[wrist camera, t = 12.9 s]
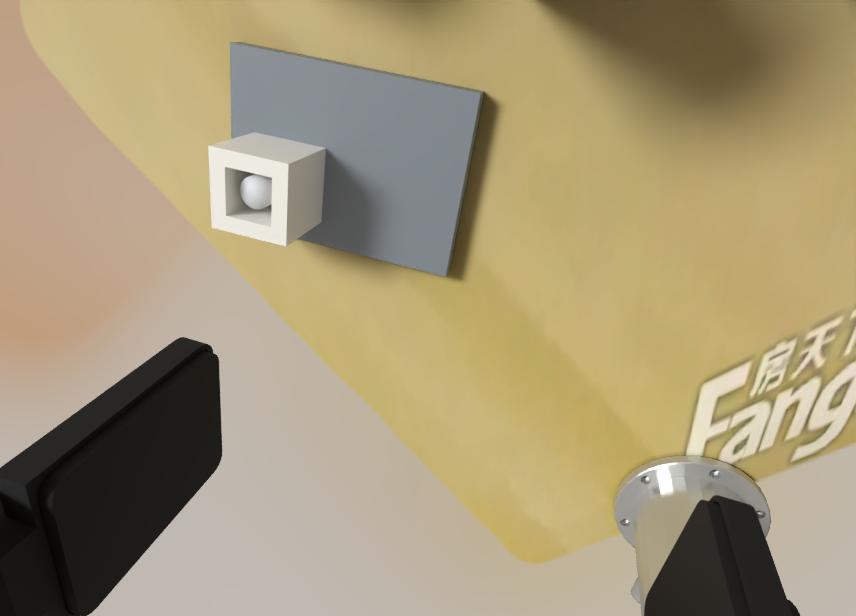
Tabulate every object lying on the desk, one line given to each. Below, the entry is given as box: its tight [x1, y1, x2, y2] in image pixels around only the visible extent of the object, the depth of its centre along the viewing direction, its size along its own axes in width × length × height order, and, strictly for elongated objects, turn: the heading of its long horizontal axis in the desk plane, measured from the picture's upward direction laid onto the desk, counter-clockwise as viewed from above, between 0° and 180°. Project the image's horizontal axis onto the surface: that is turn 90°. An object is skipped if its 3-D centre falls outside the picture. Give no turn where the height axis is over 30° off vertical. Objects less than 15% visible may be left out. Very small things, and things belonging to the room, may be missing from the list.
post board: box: [230, 42, 484, 277], centre depth 40 cm, size 14×19×6 cm
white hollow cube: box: [209, 132, 326, 246], centre depth 41 cm, size 6×6×6 cm
